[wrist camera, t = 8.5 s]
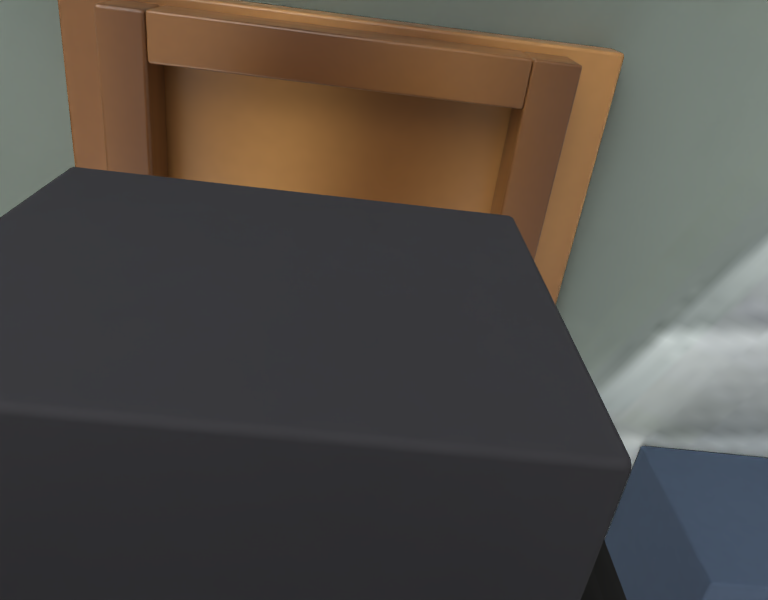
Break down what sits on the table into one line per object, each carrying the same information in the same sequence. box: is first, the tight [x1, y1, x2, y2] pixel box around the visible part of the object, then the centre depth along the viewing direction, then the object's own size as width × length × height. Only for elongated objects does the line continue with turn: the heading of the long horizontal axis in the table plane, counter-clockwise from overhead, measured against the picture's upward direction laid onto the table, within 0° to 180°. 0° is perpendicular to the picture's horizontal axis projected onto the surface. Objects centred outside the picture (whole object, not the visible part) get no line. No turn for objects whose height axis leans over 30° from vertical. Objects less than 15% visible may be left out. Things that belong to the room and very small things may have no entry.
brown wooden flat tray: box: [58, 0, 624, 305], centre depth 18 cm, size 12×20×2 cm, turn 173°
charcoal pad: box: [0, 167, 631, 600], centre depth 9 cm, size 6×8×5 cm
